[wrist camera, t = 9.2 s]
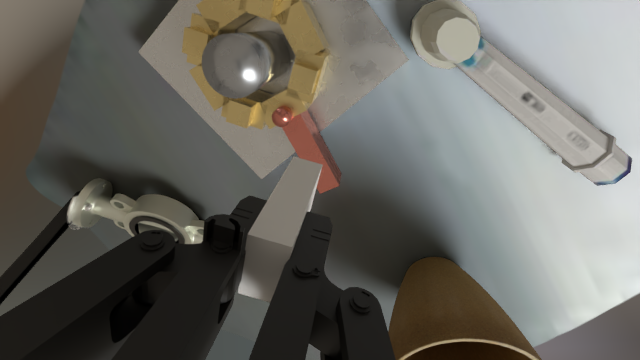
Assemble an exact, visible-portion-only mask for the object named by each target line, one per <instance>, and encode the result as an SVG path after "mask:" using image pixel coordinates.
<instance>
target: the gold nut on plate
mask: <svg viewBox="0 0 640 360" xmlns="http://www.w3.org/2000/svg"><path fill="white" fill-rule="evenodd" d="M201 1H203V0H179V1H178V2H177V3H176V4H175V6H174V7H173V8H172V10H171V11H170V12H169V13H168V15H167V16H166V17H165V18H164V20H163V21H162V22H161V24H160V25H159V26H158V27H157V29H156V30H155V31H154V33H153V34H152V35H151V36H150V38H149V39H148V40H147V41H146V43H145V44H144V45H143V47H142V48H141V49H140V50H139V53H140V54H141V55H142V56H143V57H144V58H145V59H146V60H147V61H148V62H149V63H150V64H151V65H152V67H153V68H154V69H155V70H156V71H157V72H158V73H159V74H160V75H161V76H162V77H163V78H164V79H165V80H166V81H167V82H168V83H169V84H170V85H171V86H172V87H173V88H174V89H175V90H176V91H177V92H178V93H179V94H180V95H181V96H182V97H183V99H184V100H185V101H186V102H187V103H188V104H189V105H190V106H191V107H192V108H193V109H194V110H195V111H196V112H197V113H198V114H199V115H200V116H201V117H202V118H203V119H204V120H205V121H206V122H207V123H208V124H209V125H210V126H211V127H212V128H213V129H214V131H215V132H216V133H217V134H218V135H219V136H220V137H221V138H222V139H223V140H224V141H225V142H226V143H227V144H228V145H229V146H230V147H231V148H232V149H233V150H234V151H235V152H236V153H237V154H238V155H239V156H240V157H241V158H242V159H243V160H244V161H245V162H246V164H247V165H248V166H249V167H250V168H251V169H252V170H253V171H254V172H255V173H256V174H257V175H258V176H259V177H260V178H261V179H262V178H264V177H265V176H266V175H267V174H269V173H270V172H271V171H272V170H274V169H275V168H276V167H277V166H278V165H280V164H281V163H282V162H283V161H285V160H286V159H287V158H288V157H290V156H291V155H292V154H293V153H295V152H296V151H295V149H294V148H293V146H292V144H291V142H290V141H289V139H288V137H287V136H286V134H285V132H284V130H283V129H282V127H278V126H275V127H273V128H271V129H269V128H268V126H267V125H266V126H265V127H264V128H263V129H262V130H261V129H258V128H255V127H252V126H250V127H248V128H244V127H241V126H238V125H235V124H232V123H229V122H226V118H225V117H222V116H221V113H222V107H223V106H222V107H220V108H219V109H217V110H215V111H214V110H213V108H212V106H211V105H210V103H209V102H208V100H207V99H206V97H205V95H204V94H203V92H202V91H201V89H200V88H199V86H198V85H197V83H196V81H195V80H194V78H193V77H192V75H191V74H190V72H189V70H191V69H192V68H194V67H195V66H197V65H194V64H191V63H188V62H187V54H185V53H182V45H183V35H184V27H190V25H191V16H192V13H199V14H201V13H200V11H199V9H198V8H197V6H196V5H197V4H198V3H200V2H201ZM302 1H305V2H308V3H309V4H310V6H311V8H312V10H313V13H314V15H315V17H316V19H317V21H318V23H319V25H320V27H321V29H322V31H323V33H324V36H325V38H326V40H327V42H328V44H329V46H328V47H326V48H325V49H323V50H321V51H322V52H325V53H328V54H330V56H329V59H328V63H327V66H326V69H325V73H324V76H323V79H322V83H321V86H320V89H319V93H318V96H317V97H316V99H315V100H314V101H313V103H312V104H311V105H310V106H309V108H308V109H307V110H308V112H309V114H310V116H311V118H312V120H313V122H314V123H315V125H316V127H317V129H318V131H319V132H320V131H322V130H323V129H324V128H325V127H327V126H328V125H329V124H330V123H332V122H333V121H334V120H335V119H337V118H338V117H339V116H340V115H341V114H343V113H344V112H345V111H346V110H348V109H349V108H350V107H351V106H353V105H354V104H355V103H356V102H358V101H359V100H360V99H361V98H362V97H364V96H365V95H366V94H367V93H369V92H370V91H371V90H372V89H374V88H375V87H376V86H377V85H379V84H380V83H381V82H382V81H383V80H385V79H386V78H387V77H388V76H390V75H391V74H392V73H393V72H395V71H396V70H397V69H398V68H400V67H401V66H402V65H403V64H404V63H406V62H407V61H408V60H409V59H408V58H407V56H406V55H405V54H404V52H403V51H402V50H401V48H400V47H399V45H398V44H397V43H396V41H395V40H394V38H393V37H392V36H391V34H390V33H389V32H388V30H387V29H386V27H385V26H384V25H383V23H382V22H381V21H380V19H379V18H378V16H377V15H376V14H375V12H374V11H373V9H372V8H371V7H370V5H369V4H368V3H367V1H366V0H302ZM295 57H296V56H295V54H294V52H293V50H292V48H291V46H290V44H289V42H288V40H287V38H286V36H285V34H284V32H283V30H282V29H281V27H280V25H279V23H276V22H273V21H270V20H267V19H264V18H261V17H259V16H255V17H254V18H252V19H251V20H249V21H247V22H246V23H244V24H243V25H241V26H240V27H238V28H237V29H236V30H235V33H230V34H221V35H218V36H216V37H214V38H213V39H211V40H210V41H209V42H208V44H207V45H206V47H205V49H204V51H203V55H202V70H203V73H204V76H205V78H206V80H207V82H208V83H209V85H210V86H211V87H212V88H213V89H214V90H215V91H216V92H217V93H219V94H221V95H222V96H225V97H228V98H233V99H238V98H243V97H246V96H248V95H249V94H251V93H253V92H254V91H256V90H260V91H263V92H266V93H269V94H272V95H273V94H275V93H276V92H278V91H280V90H282V89H284V88H286V87H287V86H288V84H289V80H290V76H291V72H292V68H293V64H294V61H295Z"/></svg>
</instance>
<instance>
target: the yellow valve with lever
mask: <svg viewBox="0 0 640 360" xmlns="http://www.w3.org/2000/svg"><path fill="white" fill-rule="evenodd" d="M196 6H197V8H198V9H199V11H200V13H201V14H199V13H192V16H191V25H190V27H184V35H183V45H182V53H185V54H187V62H188V63H191V64H194V65H197V66H195V67H194V68H192V69H191V70H189V72H190V74H191V75H192V77H193V78H194V80H195V81H196V83H197V85H198V86H199V88H200V89H201V91H202V92H203V94H204V95H205V97H206V99H207V100H208V102H209V103H210V105H211V106H212V108H213V110H214V111H215V110H217V109H219V108H220V107H222V106H223V107H222V113H221V116H222V117H225V118H226V122H229V123H232V124H235V125H238V126H241V127H244V128H248V127H250V126H252V127H255V128H258V129H261V130H262V129H263V128H264V127H265V126H266V125H267V126H268V128H269V129H271V128H273V127H275V126H278V127H282V129H283V130H284V132H285V134H286V136H287V137H288V139H289V141H290V142H291V144H292V146H293V148H294V149H295V151H296V153H297V155H298V156H299V158H301V159H305V160H308V161H312V162H315V163H319V164H322V169H321V173H320V176H319V180H318V184H317V189H318V191H319V193H320V194H321V193H323V192H325V191H328V190H330V189H333V188H335V187H337V186H339V184H340V179H341V172H340V170H339V168H338V166H337V164H336V163H335V161H334V159H333V157H332V155H331V153H330V151H329V149H328V148H327V146H326V144H325V142H324V140H323V138H322V136H321V135H320V133H319V131H318V129H317V127H316V125H315V123H314V122H313V120H312V118H311V116H310V114H309V112H308V110H307V109H308V108H309V106H310V105H311V104H312V103H313V101H314V100H315V99H316V97H317V96H318V93H319V89H320V86H321V83H322V79H323V76H324V73H325V69H326V66H327V63H328V59H329V56H330V54H328V53H325V52H322V51H321V50H323V49H325V48H326V47H328V46H329V44H328V42H327V40H326V38H325V36H324V33H323V31H322V29H321V27H320V25H319V23H318V21H317V19H316V17H315V15H314V13H313V10H312V8H311V6H310V4H309V3H308V2H305V1H302V0H203V1H201V2H200V3H198V4H197V5H196ZM255 16H259V17H261V18H264V19H267V20H270V21H273V22H276V23H279V25H280V27H281V29H282V30H283V32H284V34H285V36H286V38H287V40H288V42H289V44H290V46H291V48H292V50H293V52H294V54H295V56H296V57H295V61H294V64H293V68H292V72H291V76H290V80H289V84H288V86H287V87H286V88H284V89H282V90H280V91H278V92H276V93H275V94H273V95H272V94H269V93H266V92H263V91H260V90H256V91H254V92H253V93H251V94H249V95H248V96H246V97H243V98H238V99H233V98H228V97H225V96H222V95H221V94H219V93H217V92H216V91H215V90H214V89H213V88H212V87H211V86H210V85H209V83H208V82H207V80H206V78H205V76H204V73H203V70H202V55H203V51H204V49H205V47H206V45H207V44H208V42H209V41H210V40H211V39H213V38H214V37H216V36H218V35H221V34H230V33H235V30H236V29H237V28H238V27H240V26H241V25H243V24H244V23H246V22H247V21H249V20H251V19H252V18H254V17H255Z"/></svg>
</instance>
